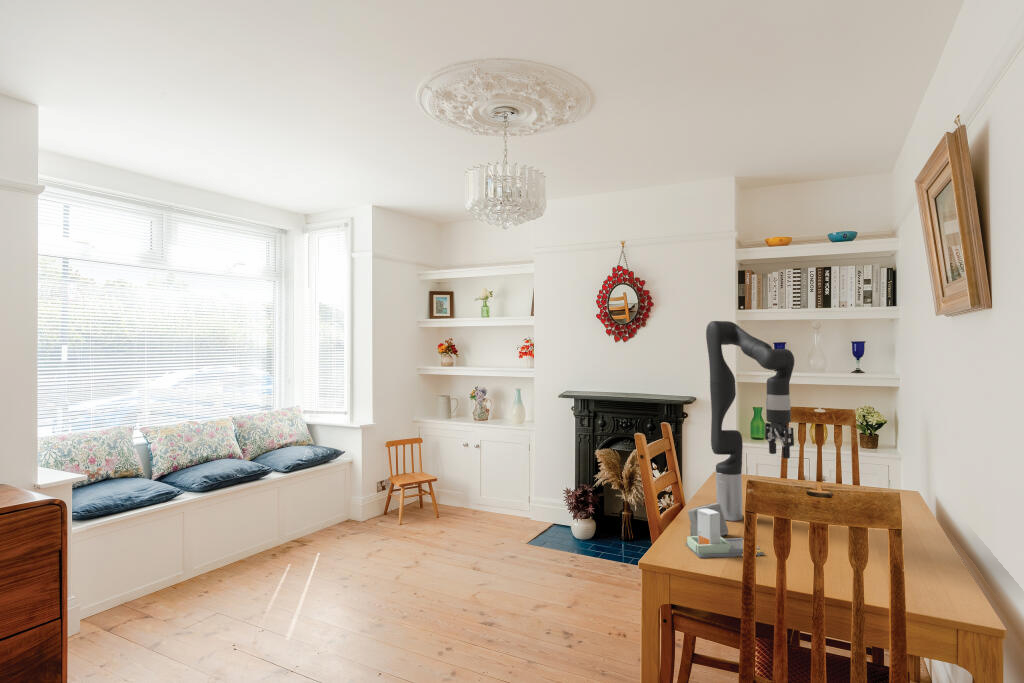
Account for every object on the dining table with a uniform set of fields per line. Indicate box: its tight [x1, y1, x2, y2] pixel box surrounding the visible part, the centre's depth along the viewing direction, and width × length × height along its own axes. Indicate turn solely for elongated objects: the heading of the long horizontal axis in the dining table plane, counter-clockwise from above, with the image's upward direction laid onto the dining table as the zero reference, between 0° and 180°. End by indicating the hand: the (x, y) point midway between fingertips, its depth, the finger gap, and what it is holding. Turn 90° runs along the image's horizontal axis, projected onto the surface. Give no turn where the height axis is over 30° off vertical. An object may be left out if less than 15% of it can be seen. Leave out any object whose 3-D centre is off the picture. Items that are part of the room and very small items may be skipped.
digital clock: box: [687, 502, 729, 538], centre depth 198 cm, size 16×9×11 cm, turn 112°
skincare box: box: [697, 508, 720, 545], centre depth 185 cm, size 6×4×12 cm
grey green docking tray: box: [685, 535, 765, 559], centre depth 185 cm, size 12×21×3 cm, turn 94°
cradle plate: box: [727, 540, 743, 548], centre depth 186 cm, size 7×7×1 cm
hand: (779, 455), depth 195 cm, fingers open, 8 cm apart
